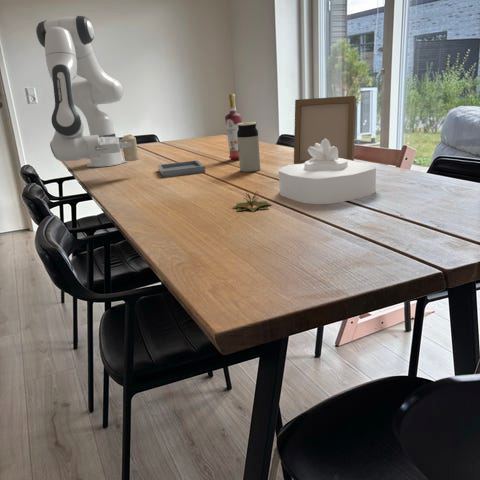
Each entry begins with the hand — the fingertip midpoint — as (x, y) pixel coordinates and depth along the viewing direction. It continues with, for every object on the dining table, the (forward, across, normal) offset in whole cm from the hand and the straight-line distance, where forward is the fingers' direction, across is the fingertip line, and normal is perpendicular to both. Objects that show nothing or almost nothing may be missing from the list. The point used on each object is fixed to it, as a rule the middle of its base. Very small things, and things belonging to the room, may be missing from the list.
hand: (131, 142), depth 184 cm
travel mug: (+43, -18, +13) cm, 48 cm away
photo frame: (+71, -27, +13) cm, 77 cm away
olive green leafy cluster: (+28, -70, +13) cm, 77 cm away
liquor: (+45, +11, +14) cm, 48 cm away
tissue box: (+53, -66, +13) cm, 85 cm away
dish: (+18, -2, +14) cm, 23 cm away
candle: (-1, 0, +7) cm, 7 cm away
